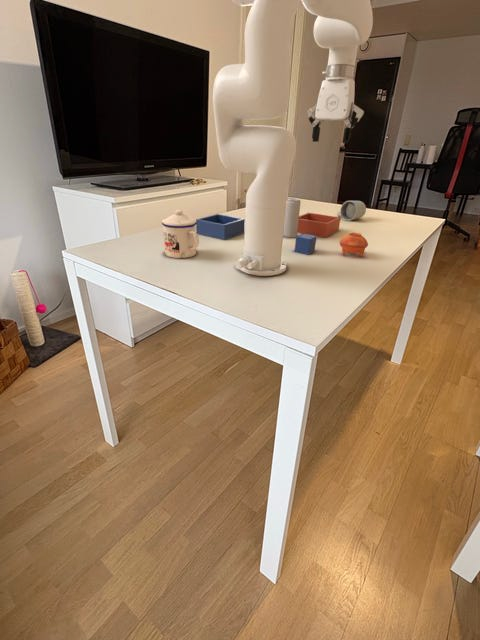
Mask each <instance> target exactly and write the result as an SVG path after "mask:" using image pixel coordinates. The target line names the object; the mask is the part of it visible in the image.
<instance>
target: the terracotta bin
mask: <svg viewBox="0 0 480 640" xmlns="http://www.w3.org/2000/svg"><path fill="white" fill-rule="evenodd" d="M341 218H342V217H341V216H339V217H338V216H333V215H327V214H320V213H314V212H306V213H303V214H301V215H300V214H299V220H298V229H297V233H299V234H308V235H313V236H317V237H321V238H325V239H326V238H328V237H329V236H331V235H333V234H336V232H338V231H339V229H340V225H341Z"/></svg>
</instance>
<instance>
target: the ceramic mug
mask: <svg viewBox="0 0 480 640" xmlns="http://www.w3.org/2000/svg"><path fill="white" fill-rule="evenodd" d="M366 213H367V206H366V204H365V202H363V201H361V200H346V201H345V202H343V203H342V205H341V207H340V211H338V212H337V217H340V218H342V219H343V220H344V221H348V222H350V221H354V220H359V219H361V218H363V217H364V216H365V214H366Z"/></svg>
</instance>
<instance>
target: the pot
mask: <svg viewBox="0 0 480 640" xmlns="http://www.w3.org/2000/svg"><path fill="white" fill-rule="evenodd" d="M339 246H340V247H341V253H342V256H345V255H346V254H347V253H350V254H357V253H359V256H360V258H361V257H363V256H364V254H365V251H366V248H367V247H368V246H369V243H368V240H367V239H366V238H365V237H364V235H362V233H359V232H350V233H347V235H344V236H343V237H342V238H341V239H339Z"/></svg>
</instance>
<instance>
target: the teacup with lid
mask: <svg viewBox="0 0 480 640" xmlns="http://www.w3.org/2000/svg"><path fill="white" fill-rule="evenodd" d="M161 225H162V231H163V243H164V244H163V245H164V246H163V247H164V254H165V255H166V256H167V257H169V258H173V259H186V258H191V257H194V256H195V255H196V254H197V248H198V247H199V245H200V238H199V234H197V233H196V219H194V218H193V217H190V216H188V215H187V214H184V212H183V210H181V209H175V210H174V213H173V214H171V215H170V216H168V217H165V218H163V219H162V221H161Z"/></svg>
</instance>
